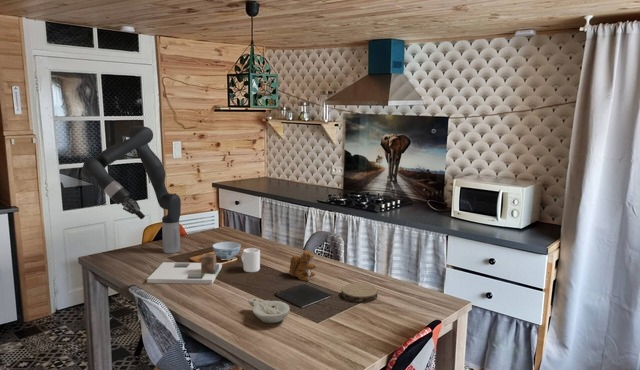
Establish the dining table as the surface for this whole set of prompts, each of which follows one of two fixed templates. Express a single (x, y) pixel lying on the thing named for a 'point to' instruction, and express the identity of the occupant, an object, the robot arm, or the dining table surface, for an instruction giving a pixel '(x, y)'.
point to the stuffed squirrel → (302, 266)
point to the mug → (251, 259)
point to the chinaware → (226, 249)
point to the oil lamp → (269, 310)
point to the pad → (210, 273)
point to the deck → (182, 273)
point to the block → (208, 263)
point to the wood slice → (359, 292)
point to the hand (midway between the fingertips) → (143, 217)
